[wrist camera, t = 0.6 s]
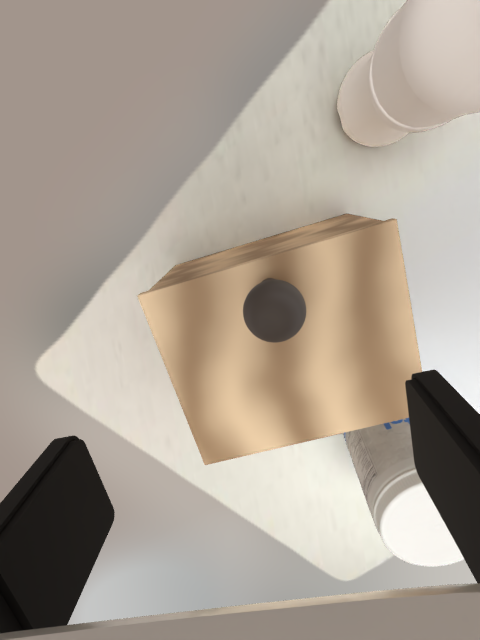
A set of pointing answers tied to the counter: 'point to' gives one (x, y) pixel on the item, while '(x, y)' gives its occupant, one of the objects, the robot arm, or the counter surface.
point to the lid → (290, 343)
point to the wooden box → (264, 247)
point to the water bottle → (415, 73)
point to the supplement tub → (399, 495)
